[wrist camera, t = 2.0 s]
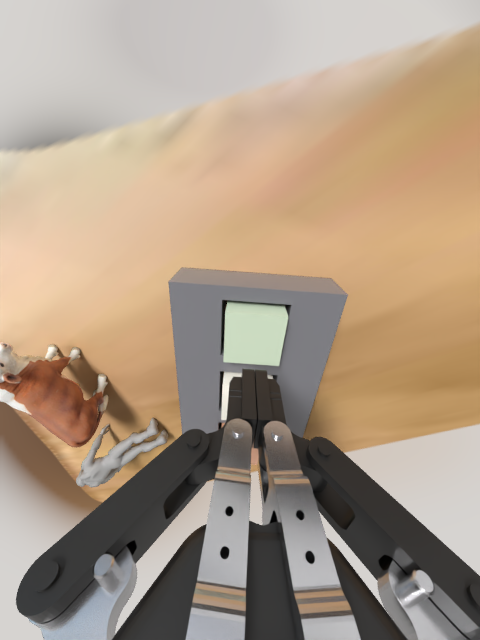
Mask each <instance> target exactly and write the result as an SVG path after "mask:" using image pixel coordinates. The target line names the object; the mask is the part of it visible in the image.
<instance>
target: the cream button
mask: <svg viewBox="0 0 480 640" xmlns="http://www.w3.org/2000/svg"><path fill="white" fill-rule="evenodd" d="M233 376H234V377H242V373H238V372H224V378H223V385H222V411H221V420H226V419H227V408H228V396H229V383H230V381H231V380H232V378H233ZM267 376H268V379H273V375H267Z"/></svg>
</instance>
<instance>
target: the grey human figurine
mask: <svg viewBox="0 0 480 640" xmlns="http://www.w3.org/2000/svg"><path fill="white" fill-rule="evenodd" d="M157 425H158V422H157V420H156V419H154V418H152V419H151V421H150V425H149V426H148V427H147V431H144V432H142V433H139V434H138V433H132V434H131V436H129V437H128V438H127V439H125V440H123V441H121V442H120V443H119V444H117V445H116V446H114V447H113V448H112V449H111V450H110V451H109V452H108V455H106V456H105V457H101V458H100V457H99V458H95V459H94V457H95V455H96V452H97V450H98V449H99V447H100V445H101V442H102V438H103V435H104V434H106V433H107V432H108V431H109V430H107V431H106V429H107V428H108V427H109V424H108V425H107V426H105V428H103V429H102V431H101V434H100V435H99V436H98V437H97V438H96V439H95V441H94V442H93V444H92V447H91V450H90V451H89V453H88V455H87V457H86V458H85V459H84V461H83V462H82V465H81V471H80V473H79V476H78V477H77V479H76V483H77V485H79V486H81V487H82V486H85V485H89V487H97V486H99V485H100V484H103V483H106V482H107V481H108V480H110V479H111V478H112V477H113V476H114V475H115V473H116V472H119V471H120V470H121V468H122V467H123V466H124V465H126V464H127V463H128V462H130V461H131V460H133V459H134V458H135V457H136V456H137V455H138V454H139V453H140V452H142V451H143V452H147V451H151V450H152V449H153V448H155V447H157V446H158V445H162V444H165V443H166V442H167V438H168V433H167V432H166V430H163V431H162V432H161V435H159V436H158V437H157V438H156V440H154V441H152V442H142V441H143V440H144V439H147V438H149V436H152V435H156V434H158V433H159V430H158V428H157ZM141 442H142V443H141ZM133 443H136V444H137V443H141V444H140V445H138V446H135V447H131V445H132V444H133ZM128 448H129V449H128ZM130 448H131V449H130ZM127 449H128V450H127Z"/></svg>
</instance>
